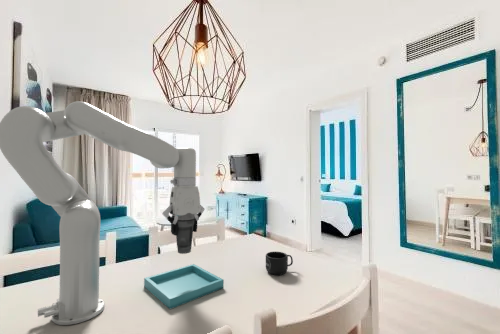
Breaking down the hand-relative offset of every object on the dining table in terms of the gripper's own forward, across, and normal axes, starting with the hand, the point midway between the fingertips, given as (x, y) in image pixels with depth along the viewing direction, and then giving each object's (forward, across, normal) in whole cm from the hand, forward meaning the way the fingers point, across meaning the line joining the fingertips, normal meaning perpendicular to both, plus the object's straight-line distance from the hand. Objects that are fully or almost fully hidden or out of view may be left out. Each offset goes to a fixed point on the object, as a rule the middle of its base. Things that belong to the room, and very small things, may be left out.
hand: (184, 232), depth 90 cm
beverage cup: (+7, 0, 0) cm, 7 cm away
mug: (+20, +36, -14) cm, 43 cm away
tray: (+19, 0, 0) cm, 19 cm away
